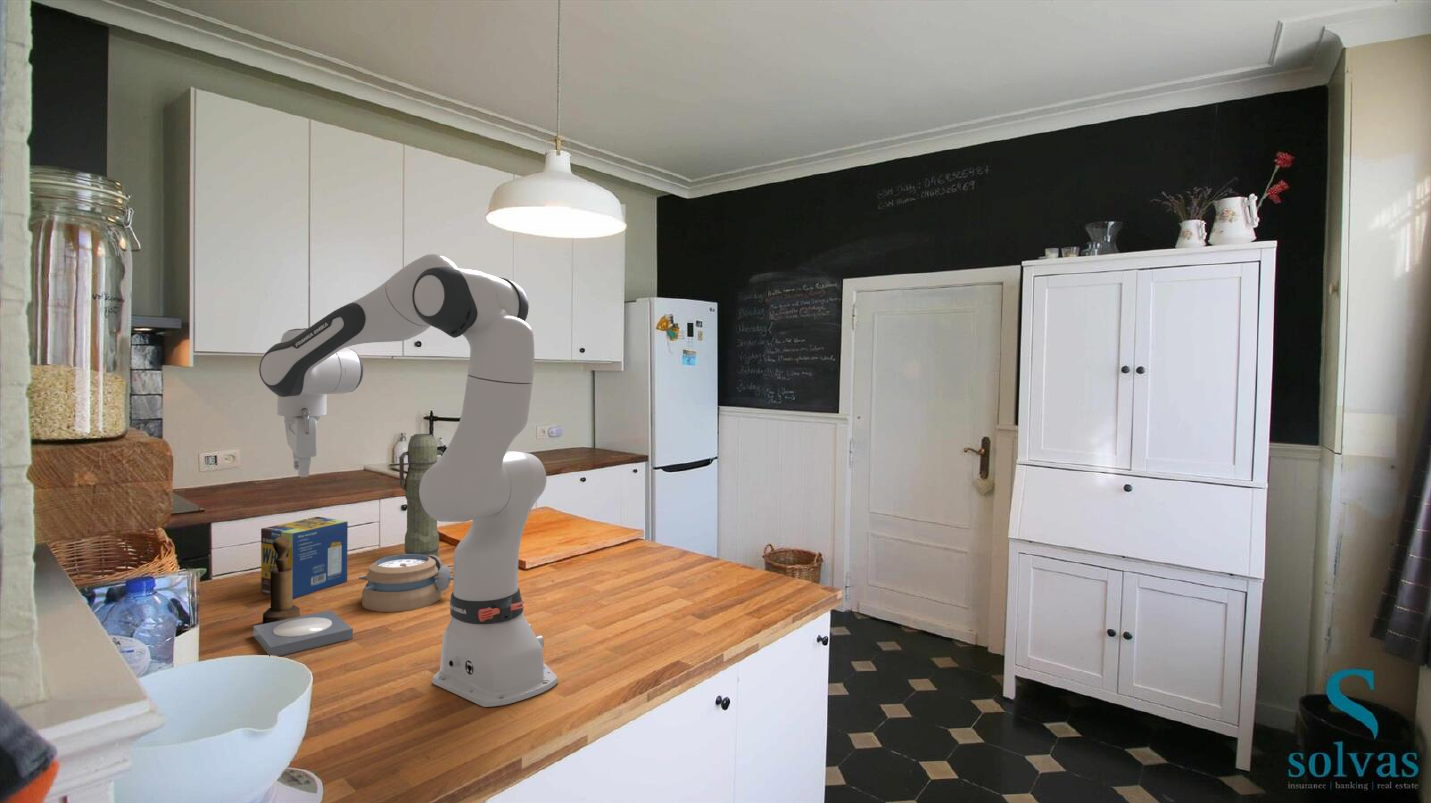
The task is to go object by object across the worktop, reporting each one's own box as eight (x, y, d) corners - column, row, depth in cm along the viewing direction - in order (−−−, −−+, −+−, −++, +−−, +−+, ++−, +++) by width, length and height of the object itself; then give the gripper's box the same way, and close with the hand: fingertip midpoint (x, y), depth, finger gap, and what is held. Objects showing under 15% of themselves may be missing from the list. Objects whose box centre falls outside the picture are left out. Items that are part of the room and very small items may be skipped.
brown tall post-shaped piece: (295, 614, 150) (295, 531, 149) (303, 622, 145) (303, 537, 144) (259, 621, 145) (259, 536, 144) (266, 630, 141) (266, 542, 140)
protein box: (259, 593, 162) (259, 528, 162) (318, 576, 177) (318, 516, 176) (291, 600, 159) (291, 533, 158) (348, 581, 173) (349, 520, 172)
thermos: (395, 557, 195) (395, 434, 194) (438, 551, 202) (439, 432, 201) (403, 565, 188) (404, 436, 187) (448, 558, 195) (449, 435, 194)
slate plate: (352, 638, 137) (352, 627, 137) (270, 658, 127) (270, 646, 127) (331, 619, 147) (331, 609, 147) (253, 636, 137) (253, 625, 137)
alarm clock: (355, 556, 163) (457, 544, 176) (355, 595, 163) (457, 580, 176) (367, 575, 149) (477, 560, 162) (367, 617, 149) (476, 599, 162)
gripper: (326, 411, 137) (324, 480, 138) (314, 403, 154) (312, 464, 154) (289, 411, 133) (287, 482, 134) (280, 402, 150) (279, 466, 151)
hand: (301, 472), depth 144 cm, fingers open, 8 cm apart
